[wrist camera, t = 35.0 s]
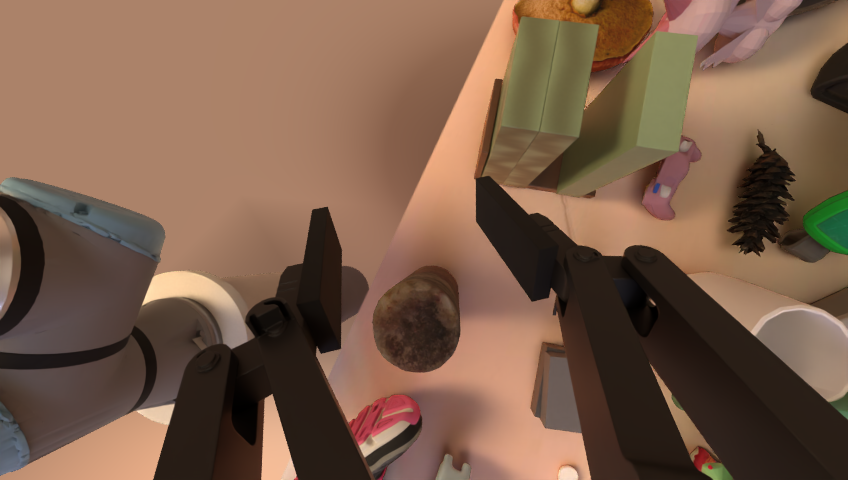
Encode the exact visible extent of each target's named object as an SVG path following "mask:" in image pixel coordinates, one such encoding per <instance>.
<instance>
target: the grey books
mask: <svg viewBox="0 0 848 480" xmlns="http://www.w3.org/2000/svg"><path fill="white" fill-rule="evenodd" d="M531 410H532V412H533V414H534V416H535V417H539V418H540V419H541V421H542V423H543V425H544V427H545V428H548V429H555V430H562V431H570V432H577V433H582V431H581V426H580V421H579V416H578V411H577V406H576V401H575V396H574V391H573V386H572V381H571V377H570V372H569V367H568V362H567V357H566V352H565V347H562V346H558V345H553V344H548V343H544V342H543V343H542V348H541V354H540V359H539V365H538V370H537V376H536V381H535V387H534V392H533V398H532V403H531Z"/></svg>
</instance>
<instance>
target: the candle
mask: <svg viewBox="0 0 848 480" xmlns="http://www.w3.org/2000/svg"><path fill="white" fill-rule="evenodd" d="M372 323H373V331H374V338H375V342H376V346H377V348H378V350H379V351H380V353H381V355H382V356H383V357H384V358H385V359H386V360H387V361H388V362H390V363H391V364H393V365H394V366H397V367H399V368H400V369H402V370H405V371H409V372H429V371H432V370H435V369H437V368H439V367H441V366H442V365H443V364H444V363H445V362H446V361H447V360H448V359H449V358H450V357H451V356H452V355H453V353H454V351H455V349H456V347H457V344H458V342H459V337H460V315H459V292H458V286H457V283H456V280H455V278H454V277H453V276H452V274H451V273H450V272H449V271H447V270H446V269H444V268H442V267H438V266H425V267H422V268H420V269H418V270H417V271H415V272H414V273H412V274H411V275H410V276H408V277H407V278H405V279H404V280H402V281H401V282H399V283H398V284H396V285H395V286H394V287H392V288H391V289H390V290H388V291H387V292H386V293H385V294H384V295H383V296H382V297H381V299H380V300H379V301H378V304H377V306H376V308H375V311H374V314H373V322H372Z"/></svg>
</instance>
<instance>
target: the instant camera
mask: <svg viewBox="0 0 848 480" xmlns="http://www.w3.org/2000/svg"><path fill="white" fill-rule="evenodd" d="M811 306H814V307H817V308H820V309H822V310H825V311H826V312H828V313H829V314H831V315H832V316H834V317H835V318H837V319H838V320H840V321H841V322H843V324H844V325H845V326H846V328H847V329H848V287H847V288H845V289H843V290H841V291H839V292H837V293H835V294H832V295H830V296H828V297H826V298H824V299H822V300H819V301H817V302H815V303H813V304H811Z"/></svg>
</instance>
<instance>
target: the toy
mask: <svg viewBox="0 0 848 480" xmlns="http://www.w3.org/2000/svg"><path fill="white" fill-rule="evenodd" d="M802 1H803V0H746V2H745V3H743V4H741V5H738V6H736V5H737V4H738V2H739V0H664V3H665V8H666V12H665V14H664V16H663V17H662V19H661V21H660V22H659V24H658V26H657V28H656V30H655V31H654V32H653V33H652V34H651V35H650V36H649V37H648V38H647V39H646V40H645V41H644V42H643V43H642V44H641V45H640V46H639V47H638V48H637V49H636V50H635V51H634V52H633V53H632V54H631V55H630V56H629V57H628V58H627V59H626V60H625V61H624V62H627V61H630V60H631V59H632V57H633V56H634V55H635V54H636V53H637V52H638V51H639V50H640V49H641V48H642V46H643V45H644V44H645V43H646V42H647V41H648V40H649V39H650V38H651V36H652V35H653V34H654V33H655V32H656V31H661V32H670V33H679V34H688V35H697V36H698V40H697V46H696V52H695V54H696V53H697V52H698V51H699V50H701V49H702V48H703V47H704V46H705V45H706V44H707V43H708V42H709V41H710V40H711V39H712V38H713V37H714V36H715V35H716V34H717V33H719V35H718V37H717V39H716V41H715V47H714V52H715V53H714V54H713V55H711V56H710V57H708V58H707V59H705V60H704V61H703V62H701V65H700V67H702V66H703V65H704V68H703V70H704V69H706V68H707V67H709V66H710V65H712V64H713V63H714V65H713V67H715V66H716V65H718V64H719V63H721V62H722V61H724V62H728V63H736V62H739V61H742V60H745V59H748V58H749V57H751V56H752V55H753V54H754V53H756V52H757V51H758V50H759V49H761V48H762V46H763V45H764V43H765V42H766V40H767V38H768V37H769V36H770V35H771V34H772V33H773V32H774V31H776V30H777V29H778V28H779V27H780V25H781V24H782V22H783V21H784V20H785V18H786V17H787V15H788V14H789V13H791V12H792V11H793V10H794V9H795V8H797V7H798V6H799V5H800V4H801V2H802ZM624 62H623V63H624ZM706 63H707V64H706Z"/></svg>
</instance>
